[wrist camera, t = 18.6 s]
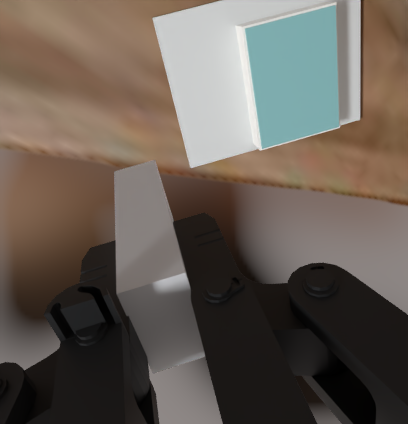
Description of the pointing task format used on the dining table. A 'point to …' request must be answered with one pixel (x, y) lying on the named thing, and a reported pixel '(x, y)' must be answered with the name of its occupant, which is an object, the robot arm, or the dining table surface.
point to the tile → (291, 74)
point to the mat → (236, 71)
